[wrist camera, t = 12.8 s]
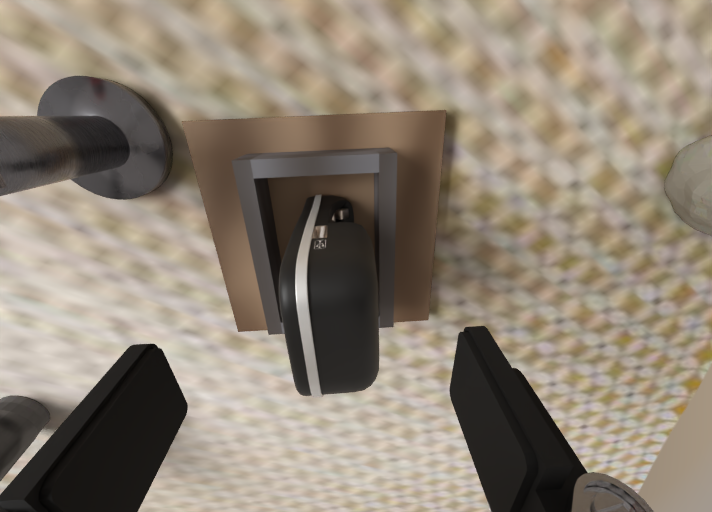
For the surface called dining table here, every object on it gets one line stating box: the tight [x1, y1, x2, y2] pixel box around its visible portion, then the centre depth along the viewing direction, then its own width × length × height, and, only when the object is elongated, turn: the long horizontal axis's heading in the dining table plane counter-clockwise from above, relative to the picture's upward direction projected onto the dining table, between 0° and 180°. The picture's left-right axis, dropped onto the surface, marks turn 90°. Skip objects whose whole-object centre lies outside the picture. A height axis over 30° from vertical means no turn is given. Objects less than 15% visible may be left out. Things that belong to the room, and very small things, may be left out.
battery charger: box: [279, 195, 379, 397], centre depth 16 cm, size 7×4×11 cm, turn 3°
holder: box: [182, 110, 446, 335], centre depth 20 cm, size 16×16×4 cm
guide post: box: [0, 76, 173, 199], centre depth 14 cm, size 7×7×10 cm
